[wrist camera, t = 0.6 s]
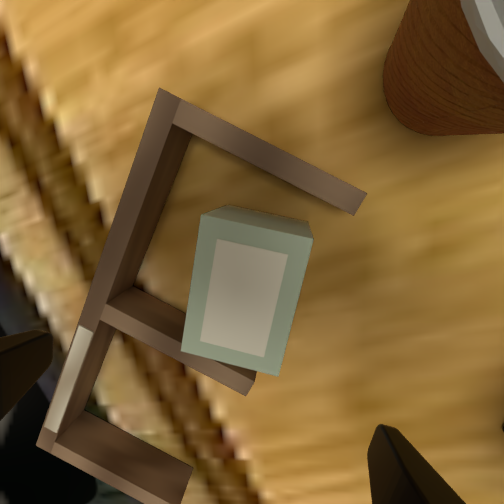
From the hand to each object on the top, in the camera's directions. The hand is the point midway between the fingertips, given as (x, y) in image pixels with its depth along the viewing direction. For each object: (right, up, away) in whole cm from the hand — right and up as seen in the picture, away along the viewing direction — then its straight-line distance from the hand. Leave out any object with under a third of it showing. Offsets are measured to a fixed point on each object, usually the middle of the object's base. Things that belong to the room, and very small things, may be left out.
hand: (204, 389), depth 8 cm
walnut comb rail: (-3, -2, +13) cm, 13 cm away
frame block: (+2, +3, +11) cm, 12 cm away
